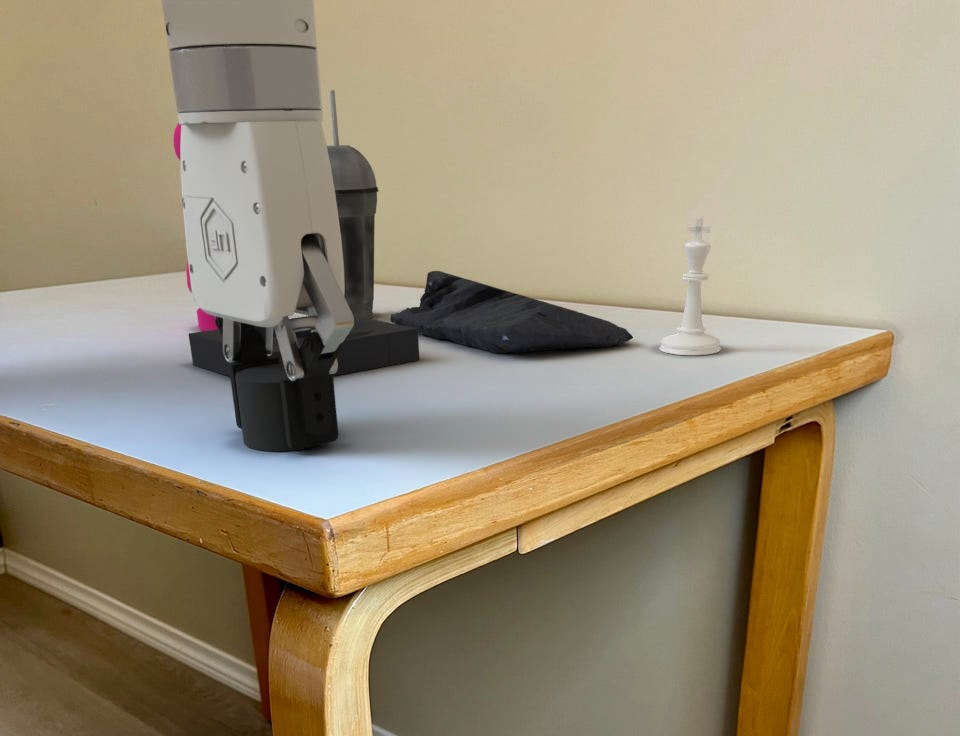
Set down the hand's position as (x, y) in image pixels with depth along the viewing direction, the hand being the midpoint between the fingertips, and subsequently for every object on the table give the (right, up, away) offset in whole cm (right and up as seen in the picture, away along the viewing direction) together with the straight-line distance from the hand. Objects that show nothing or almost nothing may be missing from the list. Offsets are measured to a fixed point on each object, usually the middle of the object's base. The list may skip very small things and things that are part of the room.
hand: (286, 431), depth 61 cm
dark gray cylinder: (0, 0, 0) cm, 0 cm away
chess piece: (+29, +11, +22) cm, 38 cm away
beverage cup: (-1, +20, +40) cm, 45 cm away
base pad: (-2, +10, +21) cm, 23 cm away
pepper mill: (-12, +18, +37) cm, 43 cm away
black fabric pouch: (+14, +15, +29) cm, 36 cm away
